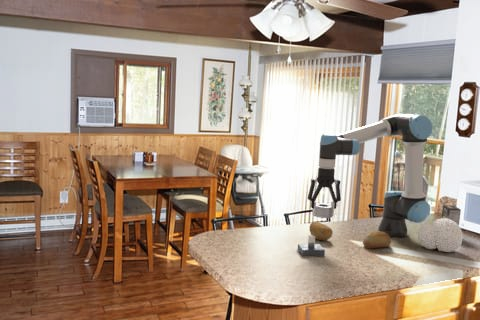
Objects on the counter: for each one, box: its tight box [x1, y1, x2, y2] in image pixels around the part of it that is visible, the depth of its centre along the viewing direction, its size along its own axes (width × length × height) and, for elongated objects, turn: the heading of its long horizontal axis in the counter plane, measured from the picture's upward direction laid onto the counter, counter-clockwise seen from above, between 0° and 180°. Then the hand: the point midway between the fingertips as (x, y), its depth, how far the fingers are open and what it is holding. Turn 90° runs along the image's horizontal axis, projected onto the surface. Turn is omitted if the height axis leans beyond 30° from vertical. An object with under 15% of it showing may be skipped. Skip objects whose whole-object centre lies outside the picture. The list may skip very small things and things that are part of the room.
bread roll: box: [362, 230, 392, 249], centre depth 229 cm, size 10×15×8 cm, turn 114°
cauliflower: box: [417, 217, 464, 254], centre depth 229 cm, size 20×18×16 cm
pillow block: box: [297, 234, 326, 258], centre depth 215 cm, size 10×9×8 cm
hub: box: [314, 202, 333, 219], centre depth 223 cm, size 8×8×5 cm
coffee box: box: [441, 204, 462, 226], centre depth 255 cm, size 9×6×16 cm
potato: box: [309, 221, 334, 241], centre depth 237 cm, size 10×14×8 cm
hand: (322, 215), depth 223 cm, fingers closed on hub, 8 cm apart
